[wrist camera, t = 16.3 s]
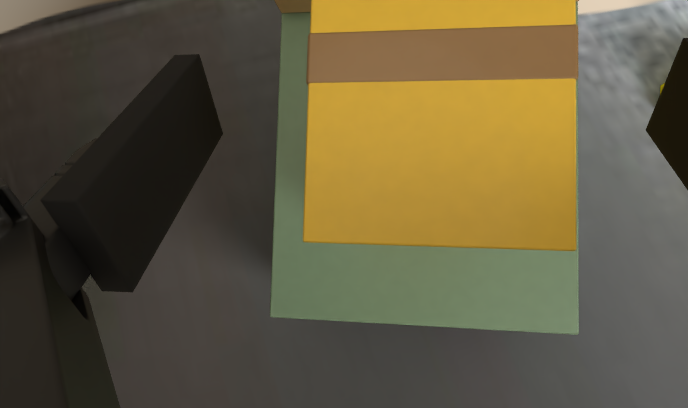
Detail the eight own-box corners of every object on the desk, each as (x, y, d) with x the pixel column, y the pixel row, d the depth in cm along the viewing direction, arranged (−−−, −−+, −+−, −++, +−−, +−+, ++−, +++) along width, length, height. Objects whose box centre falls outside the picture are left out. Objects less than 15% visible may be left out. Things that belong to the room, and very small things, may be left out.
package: (359, 238, 22) (299, 242, 10) (363, 72, 22) (312, -118, 10) (481, 242, 21) (580, 251, 9) (483, 69, 21) (578, -139, 9)
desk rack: (309, 293, 31) (258, 323, 20) (317, 62, 32) (272, -24, 21) (525, 303, 29) (594, 343, 18) (526, 57, 30) (592, -40, 19)
